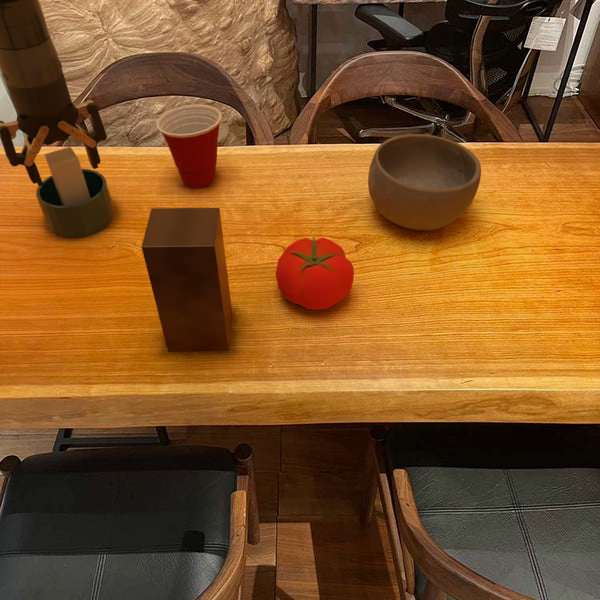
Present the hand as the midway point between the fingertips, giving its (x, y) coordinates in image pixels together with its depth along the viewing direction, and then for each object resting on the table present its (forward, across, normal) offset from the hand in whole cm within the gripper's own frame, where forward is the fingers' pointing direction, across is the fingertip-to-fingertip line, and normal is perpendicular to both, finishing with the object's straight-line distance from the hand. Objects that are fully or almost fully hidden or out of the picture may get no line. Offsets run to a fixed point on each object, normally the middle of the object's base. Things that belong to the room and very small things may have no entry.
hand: (67, 174), depth 91 cm
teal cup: (+8, 0, 0) cm, 8 cm away
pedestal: (+8, -6, +33) cm, 35 cm away
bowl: (+8, -48, +28) cm, 56 cm away
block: (+8, 0, 0) cm, 8 cm away
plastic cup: (+8, -21, 0) cm, 23 cm away
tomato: (+8, -23, +35) cm, 43 cm away
